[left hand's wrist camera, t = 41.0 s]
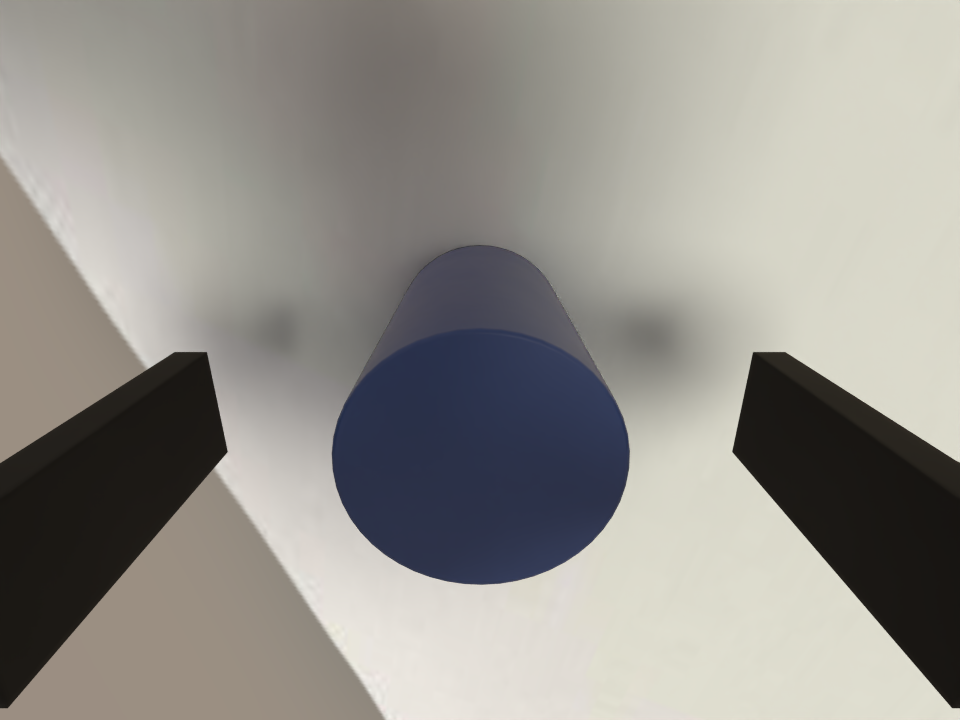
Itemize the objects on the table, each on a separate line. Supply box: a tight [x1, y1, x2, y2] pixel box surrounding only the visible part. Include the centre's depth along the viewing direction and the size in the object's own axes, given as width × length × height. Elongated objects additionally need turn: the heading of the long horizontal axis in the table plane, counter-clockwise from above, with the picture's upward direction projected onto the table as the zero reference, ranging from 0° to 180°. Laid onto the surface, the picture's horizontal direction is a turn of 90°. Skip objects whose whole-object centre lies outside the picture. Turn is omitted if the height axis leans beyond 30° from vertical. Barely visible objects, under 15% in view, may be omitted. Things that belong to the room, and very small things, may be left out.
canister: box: [332, 246, 630, 585], centre depth 14 cm, size 6×6×9 cm
